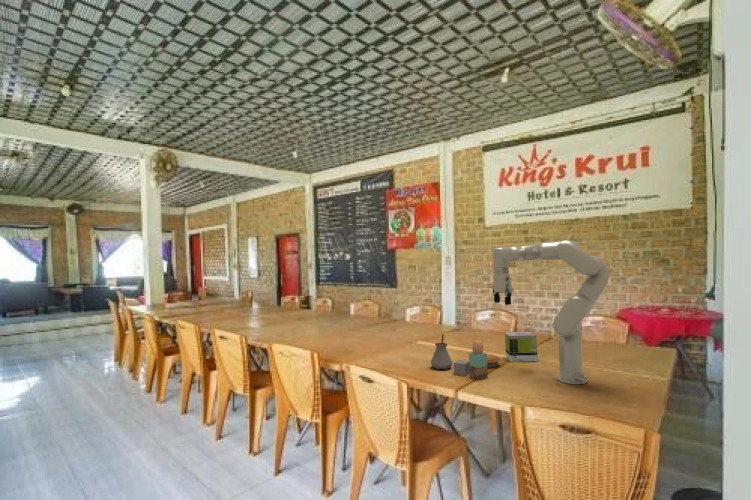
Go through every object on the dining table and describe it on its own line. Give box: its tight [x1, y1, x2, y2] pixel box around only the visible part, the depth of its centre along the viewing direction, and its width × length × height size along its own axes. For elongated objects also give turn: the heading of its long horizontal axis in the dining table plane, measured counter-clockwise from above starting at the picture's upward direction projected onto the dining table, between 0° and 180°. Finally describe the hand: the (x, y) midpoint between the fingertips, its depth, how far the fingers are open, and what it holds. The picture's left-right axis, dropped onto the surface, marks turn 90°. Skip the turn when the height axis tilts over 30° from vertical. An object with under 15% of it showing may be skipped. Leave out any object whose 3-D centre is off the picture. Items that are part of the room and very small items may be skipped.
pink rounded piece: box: [471, 339, 484, 354], centre depth 185 cm, size 5×5×6 cm
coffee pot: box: [430, 334, 453, 370], centre depth 207 cm, size 21×12×15 cm, turn 165°
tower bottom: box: [469, 366, 489, 381], centre depth 185 cm, size 6×6×6 cm
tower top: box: [468, 351, 488, 368], centre depth 185 cm, size 6×6×6 cm
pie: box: [487, 353, 501, 369], centre depth 206 cm, size 15×16×5 cm
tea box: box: [504, 331, 539, 363], centre depth 214 cm, size 15×10×15 cm
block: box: [453, 359, 470, 377], centre depth 191 cm, size 6×6×6 cm
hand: (502, 303), depth 198 cm, fingers open, 9 cm apart
